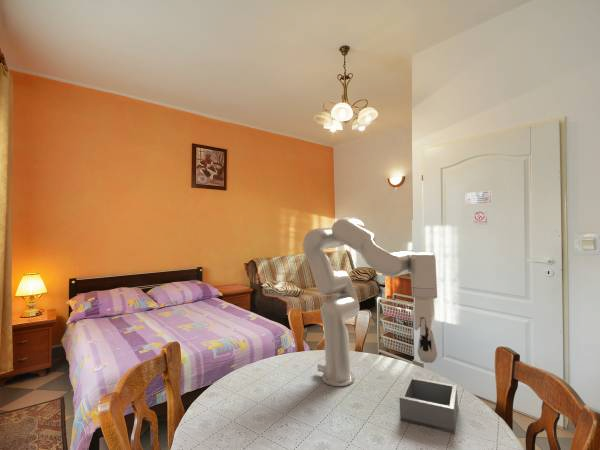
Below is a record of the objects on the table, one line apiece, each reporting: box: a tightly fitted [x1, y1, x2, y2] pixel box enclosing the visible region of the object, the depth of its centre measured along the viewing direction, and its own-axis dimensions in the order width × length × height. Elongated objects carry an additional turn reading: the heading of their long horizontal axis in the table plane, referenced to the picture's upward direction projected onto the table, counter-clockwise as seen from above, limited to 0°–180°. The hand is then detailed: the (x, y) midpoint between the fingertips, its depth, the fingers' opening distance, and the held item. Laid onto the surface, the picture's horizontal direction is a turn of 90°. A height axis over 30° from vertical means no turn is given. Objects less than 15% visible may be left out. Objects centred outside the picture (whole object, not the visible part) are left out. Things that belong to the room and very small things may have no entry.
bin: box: [399, 376, 459, 435], centre depth 102 cm, size 15×15×7 cm
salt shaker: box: [417, 328, 438, 364], centre depth 102 cm, size 6×6×13 cm
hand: (427, 350), depth 102 cm, fingers closed on salt shaker, 3 cm apart
